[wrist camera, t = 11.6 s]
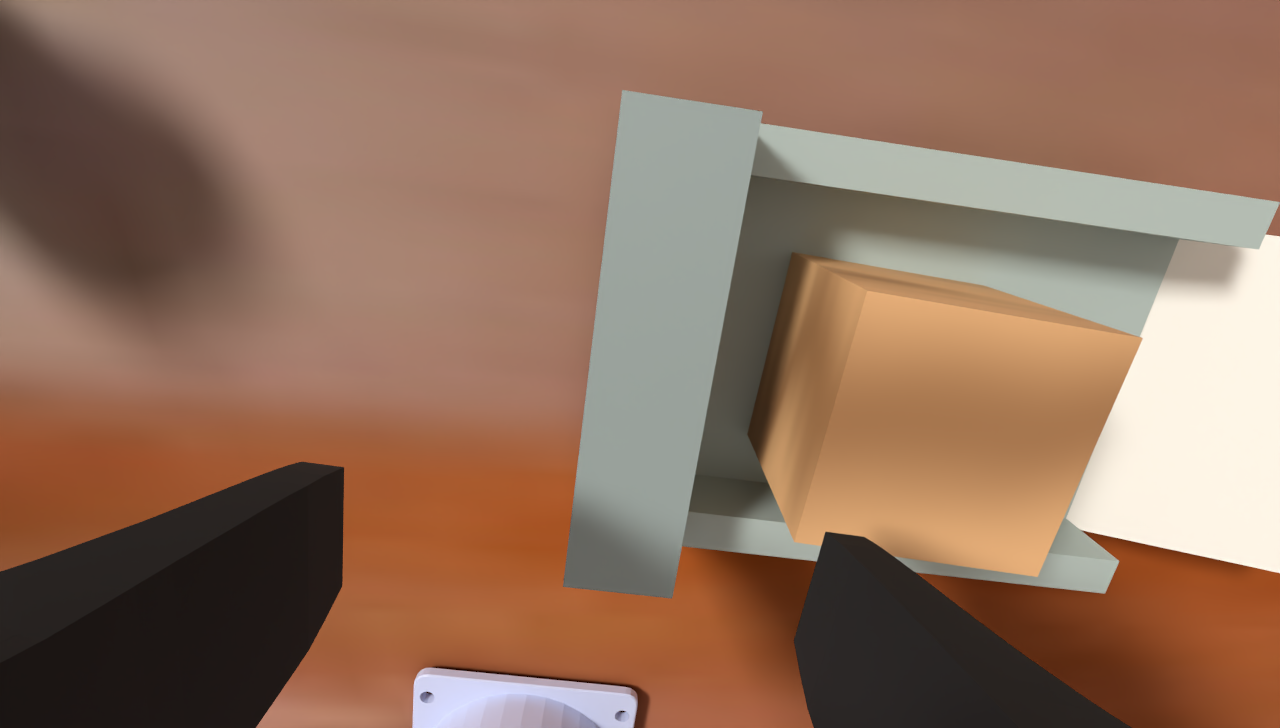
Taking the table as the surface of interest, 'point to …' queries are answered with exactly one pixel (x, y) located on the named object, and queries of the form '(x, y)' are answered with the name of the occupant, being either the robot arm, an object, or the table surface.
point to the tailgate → (1198, 415)
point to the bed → (751, 292)
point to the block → (930, 413)
